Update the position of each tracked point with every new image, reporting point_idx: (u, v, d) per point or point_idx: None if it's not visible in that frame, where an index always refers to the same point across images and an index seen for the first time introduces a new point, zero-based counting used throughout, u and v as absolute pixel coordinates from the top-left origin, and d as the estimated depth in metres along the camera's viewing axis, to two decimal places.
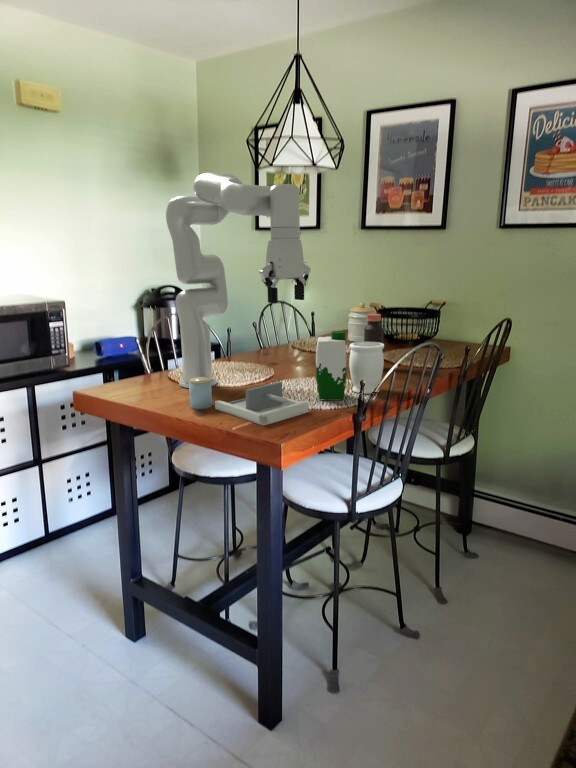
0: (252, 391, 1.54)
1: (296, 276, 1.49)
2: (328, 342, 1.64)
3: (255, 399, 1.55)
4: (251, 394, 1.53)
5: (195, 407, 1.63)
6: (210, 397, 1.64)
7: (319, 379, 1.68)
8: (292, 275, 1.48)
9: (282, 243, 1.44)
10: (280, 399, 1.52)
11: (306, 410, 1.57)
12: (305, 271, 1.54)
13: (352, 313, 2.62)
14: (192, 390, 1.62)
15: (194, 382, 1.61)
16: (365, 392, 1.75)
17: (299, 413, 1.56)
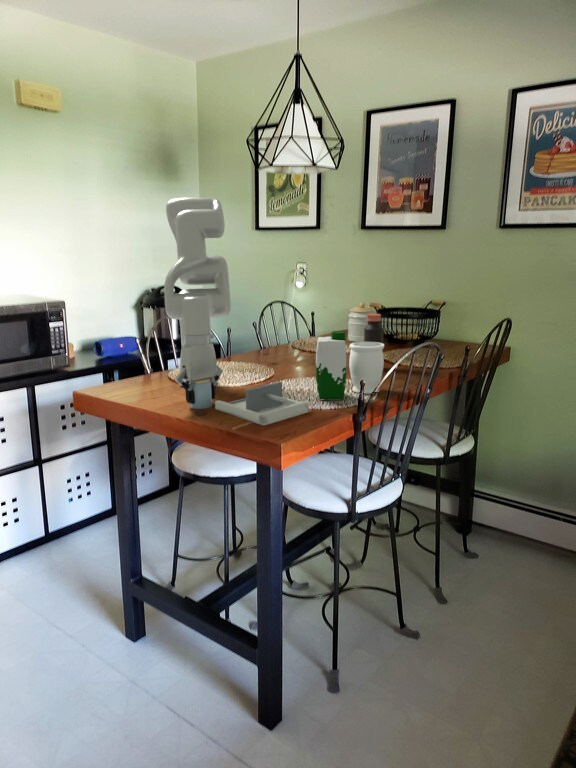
0: (252, 391, 1.54)
1: (209, 376, 1.63)
2: (328, 342, 1.64)
3: (255, 399, 1.55)
4: (251, 394, 1.53)
5: (195, 407, 1.63)
6: (210, 397, 1.64)
7: (319, 379, 1.68)
8: (204, 376, 1.62)
9: (193, 349, 1.58)
10: (280, 399, 1.52)
11: (306, 410, 1.57)
12: (217, 372, 1.67)
13: (352, 313, 2.62)
14: None
15: (194, 382, 1.61)
16: (365, 392, 1.75)
17: (299, 413, 1.56)
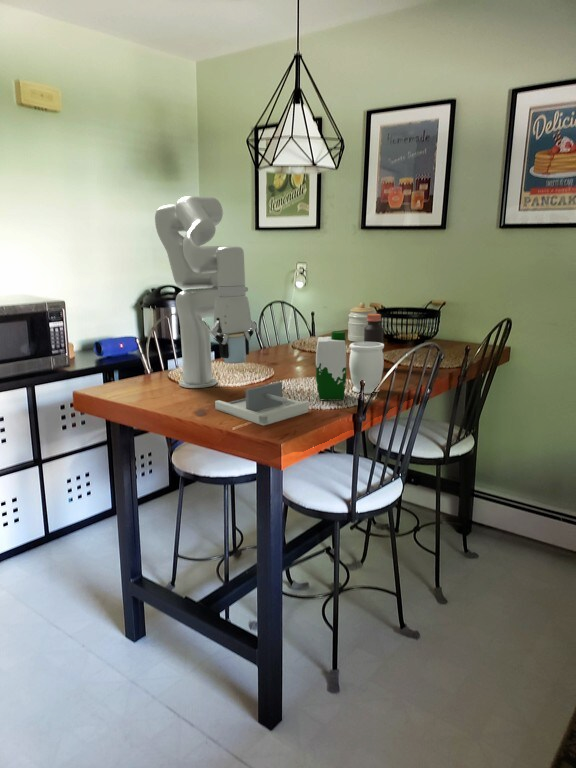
0: (252, 391, 1.54)
1: (243, 330, 1.59)
2: (328, 342, 1.64)
3: (255, 399, 1.55)
4: (251, 394, 1.53)
5: (229, 362, 1.59)
6: (244, 352, 1.60)
7: (319, 379, 1.68)
8: (239, 329, 1.58)
9: (227, 300, 1.54)
10: (280, 399, 1.52)
11: (306, 410, 1.57)
12: (251, 327, 1.63)
13: (352, 313, 2.62)
14: None
15: (228, 335, 1.57)
16: (365, 392, 1.75)
17: (299, 413, 1.56)
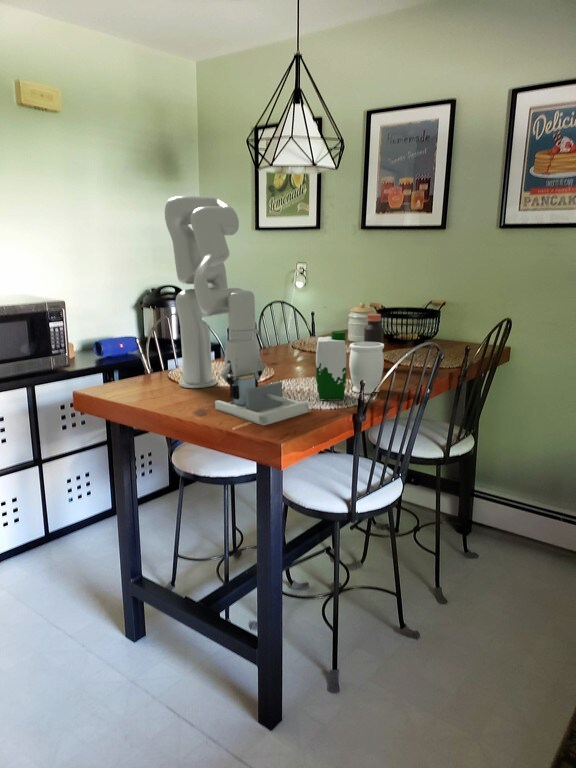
0: (252, 391, 1.54)
1: (253, 371, 1.63)
2: (328, 342, 1.64)
3: (255, 399, 1.55)
4: (251, 394, 1.53)
5: (239, 402, 1.62)
6: None
7: (319, 379, 1.68)
8: (249, 371, 1.61)
9: (238, 344, 1.57)
10: (280, 399, 1.52)
11: (306, 410, 1.57)
12: (260, 367, 1.66)
13: (352, 313, 2.62)
14: None
15: (239, 377, 1.60)
16: (365, 392, 1.75)
17: (299, 413, 1.56)
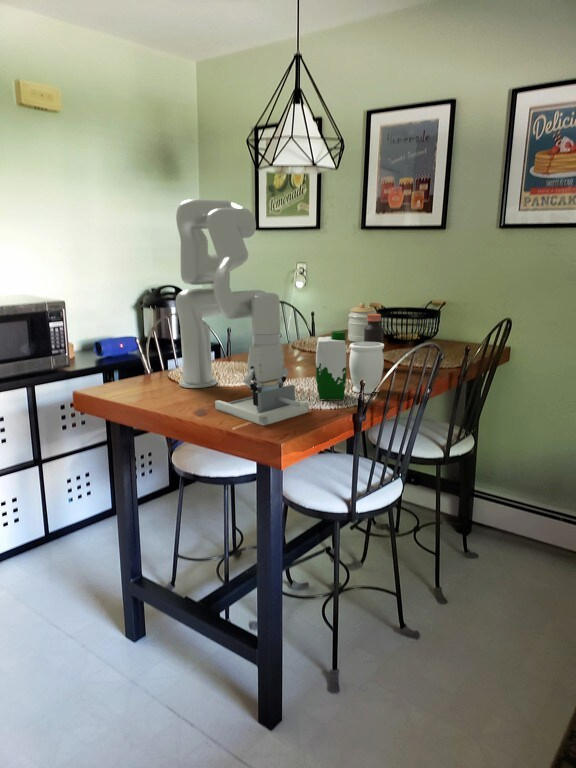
0: (264, 394, 1.50)
1: (277, 377, 1.55)
2: (328, 342, 1.64)
3: (267, 403, 1.51)
4: (263, 398, 1.50)
5: None
6: None
7: (319, 379, 1.68)
8: (273, 377, 1.54)
9: (263, 349, 1.50)
10: (293, 403, 1.48)
11: (306, 410, 1.57)
12: (284, 373, 1.59)
13: (352, 313, 2.62)
14: None
15: (262, 384, 1.53)
16: (365, 392, 1.75)
17: (299, 413, 1.56)
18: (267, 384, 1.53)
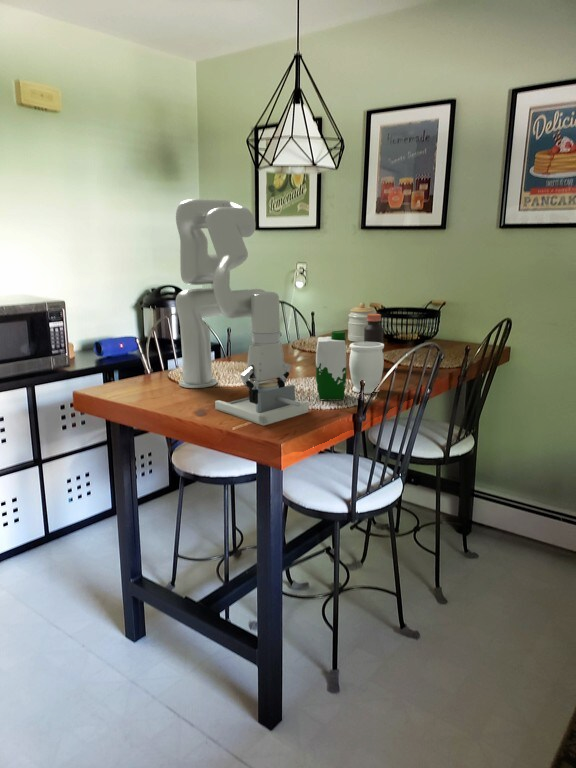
0: (264, 395, 1.50)
1: (277, 376, 1.55)
2: (328, 342, 1.64)
3: (267, 403, 1.51)
4: (263, 398, 1.50)
5: None
6: None
7: (319, 379, 1.68)
8: (273, 376, 1.54)
9: (262, 348, 1.50)
10: (293, 403, 1.48)
11: (306, 410, 1.57)
12: (286, 369, 1.60)
13: (352, 313, 2.62)
14: None
15: (262, 386, 1.53)
16: (365, 392, 1.75)
17: (299, 413, 1.56)
18: (267, 386, 1.53)
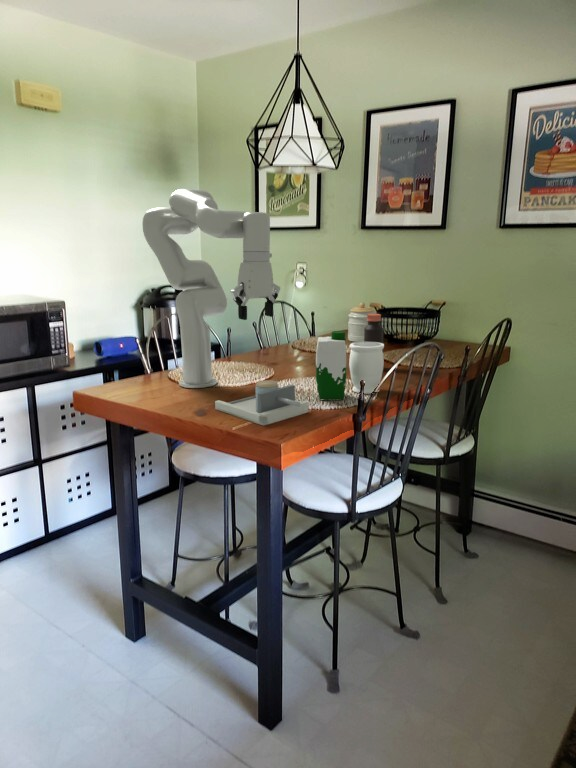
0: (264, 395, 1.50)
1: (265, 295, 1.63)
2: (328, 342, 1.64)
3: (267, 403, 1.51)
4: (263, 398, 1.50)
5: None
6: None
7: (319, 379, 1.68)
8: (261, 294, 1.62)
9: (252, 265, 1.57)
10: (293, 403, 1.48)
11: (306, 410, 1.57)
12: (275, 290, 1.67)
13: (352, 313, 2.62)
14: None
15: (262, 386, 1.53)
16: (365, 392, 1.75)
17: (299, 413, 1.56)
18: (267, 386, 1.53)
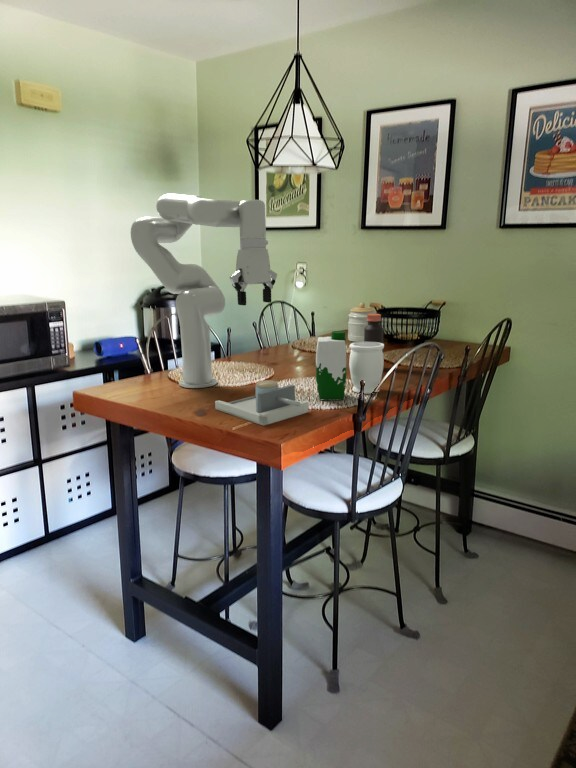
0: (264, 395, 1.50)
1: (263, 281, 1.67)
2: (328, 342, 1.64)
3: (267, 403, 1.51)
4: (263, 398, 1.50)
5: None
6: None
7: (319, 379, 1.68)
8: (259, 280, 1.66)
9: (250, 251, 1.62)
10: (293, 403, 1.48)
11: (306, 410, 1.57)
12: (272, 276, 1.72)
13: (352, 313, 2.62)
14: None
15: (262, 386, 1.53)
16: (365, 392, 1.75)
17: (299, 413, 1.56)
18: (267, 386, 1.53)
